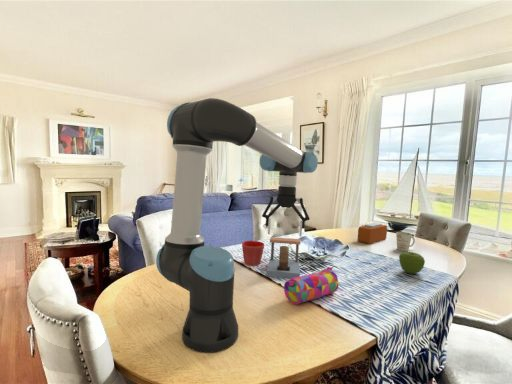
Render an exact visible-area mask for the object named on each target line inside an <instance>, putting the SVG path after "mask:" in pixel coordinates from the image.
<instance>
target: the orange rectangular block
mask: <svg viewBox="0 0 512 384" xmlns="http://www.w3.org/2000/svg"><path fill="white" fill-rule="evenodd" d="M387 233H388V226H387V225H386V224H382V223H379V222H371V223H366V224H364V225H362V226H359V227H358V229H357V242H359V243H362V244H363V243H364V244H367V245H373V244H376V243H379V242H382V241H386V239H387Z"/></svg>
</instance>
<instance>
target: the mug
mask: <svg viewBox="0 0 512 384" xmlns="http://www.w3.org/2000/svg"><path fill="white" fill-rule="evenodd" d="M395 234H396V249H397V250H399V251H403V252H409V249H410V248H411V247H413V246H414V244H416V238H415V237H414V236H413V235H412V233H410V232H405V231H396V233H395ZM411 241H412V242H411ZM410 244H411V245H410Z"/></svg>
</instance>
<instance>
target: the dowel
mask: <svg viewBox="0 0 512 384" xmlns="http://www.w3.org/2000/svg"><path fill="white" fill-rule="evenodd" d="M289 255H290V247H289V246H286V245H281V246H279V255H278V256H279V259H278V260H279V270H281V271H288V260H290V259H289V257H290V256H289Z"/></svg>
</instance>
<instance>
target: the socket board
mask: <svg viewBox="0 0 512 384" xmlns="http://www.w3.org/2000/svg"><path fill="white" fill-rule="evenodd" d="M269 243H271V245H270V247H271V249H270V258H269V260H268V264H267V268H266V275H265V276H266V277H271V278H279V279H289V280H290V279H292V278H294V277H300V276H301V275H300V274H301V270H300V261H299V248H300V247H299V246H300V245H301V238H290V237H274V236H273V237H270V238H269ZM275 244H284V245H285V244H288V245H289V244H290V245H295V256H294V257H295V260H290V259H288V271H281V270H279V259H275V257H274V255H275V254H274V253H275Z"/></svg>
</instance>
